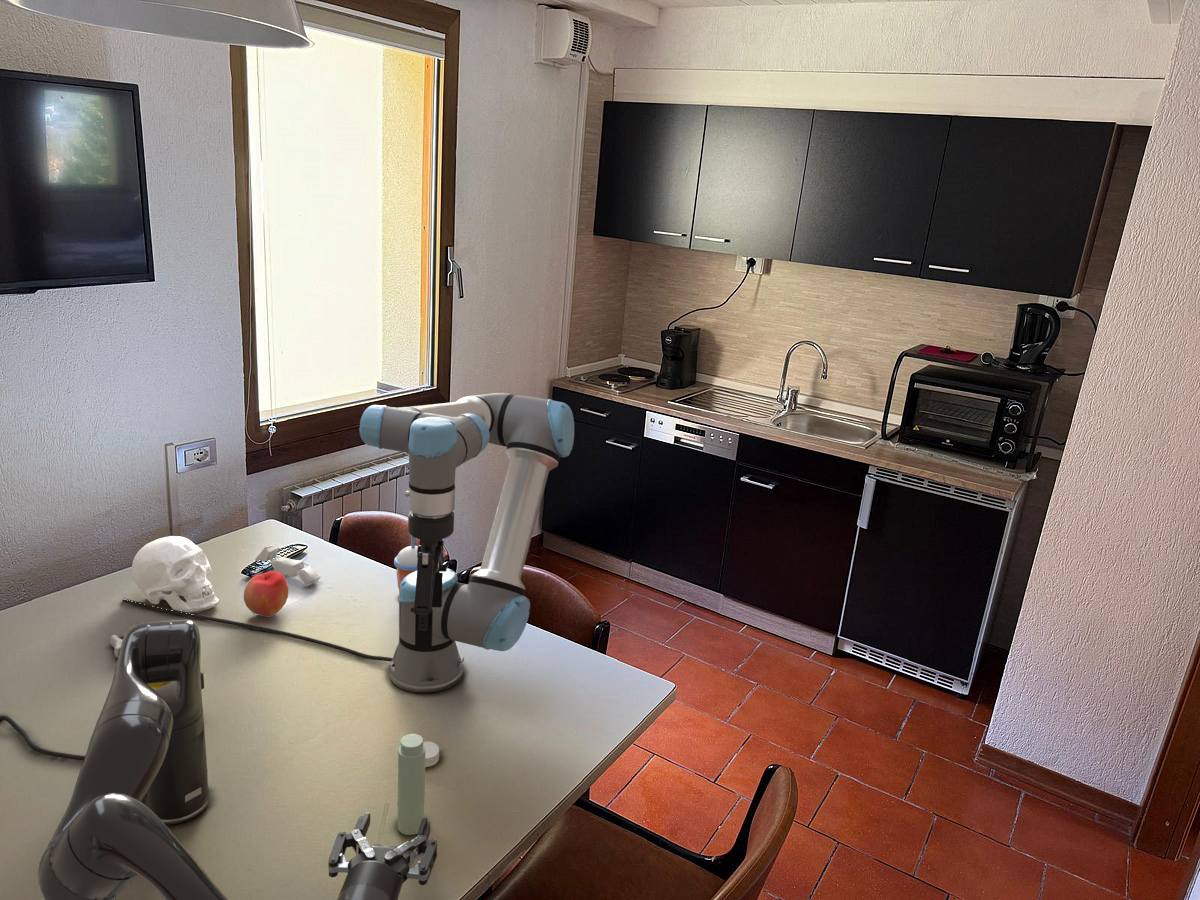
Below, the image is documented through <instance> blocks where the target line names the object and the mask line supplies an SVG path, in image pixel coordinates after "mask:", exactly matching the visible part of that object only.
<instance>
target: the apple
mask: <svg viewBox="0 0 1200 900" xmlns="http://www.w3.org/2000/svg"><path fill="white" fill-rule="evenodd" d="M288 597H289V584H288V581H287V579H286V577H285V575H282V574H281V573H278V572H275V571H268V570H267V571H266V572H264V573H259V574H255V575H254V576H253V577H251V578H250V579H249V580H248V582H247V583H246V585H245V587H244V590H243V601H244V604H245V607H247V609H248V610H249V611H250V612H252V613H253V614H255V615H257V616H261V617H265V618H269V617H273V616H275V615H276V614H278V613H279V612H280V611H281V610H282V609H283V607H284V606H285V605H286V603H287V600H288Z"/></svg>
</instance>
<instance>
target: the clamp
mask: <svg viewBox="0 0 1200 900" xmlns="http://www.w3.org/2000/svg"><path fill="white" fill-rule="evenodd" d="M280 549H281V547H279V546H278V545H277V544H272V545H266V546H264V547H263V549H262V550H261V551H260V552H259V554H258V555H257V556H256V557H255V559H254V562H255V563H256V561H259V560H262V561H268V560H271V562H270V563H269V564H271V565H272V566H273V568H274V571H275V572H278V573H281V574H282V575H283V576H288V577H292V578H296V577H298V578H299V579H300V580H301V582H303V584H304V585H305V587H309V586H312V585H314V584H316V583H318V582H319V580H320V579H321V578H322V577H321V575H320V574H319V573H318V572H317V570H315V569H314V568H313V566H312V565H310V564H309V565H308V564H307V563H305V562H304V561H303V560H301V559H300V560H299V559H292V558H289V557H285V556H278V553H279V551H280ZM273 558H274V559H273ZM272 559H273V560H272ZM305 566H306V567H305ZM270 571H271V570H270Z"/></svg>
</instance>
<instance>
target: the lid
mask: <svg viewBox="0 0 1200 900" xmlns="http://www.w3.org/2000/svg"><path fill="white" fill-rule="evenodd" d="M423 742H424V744H423V745H424V746H425V748H426V750H425V768H429V767H433V766H435V765H436V764H437V763H438V762H439V760H440V747H439V745H438V744H437V743H435V742H433V741H423Z"/></svg>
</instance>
